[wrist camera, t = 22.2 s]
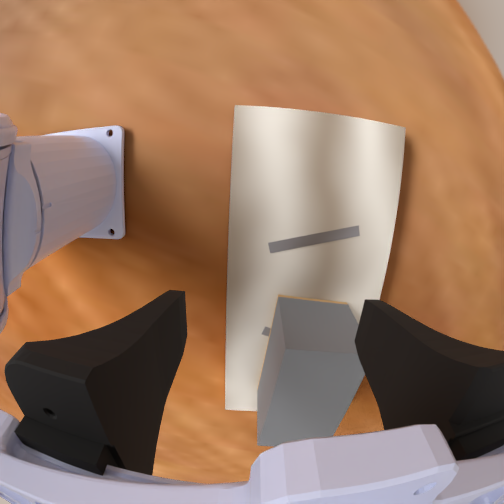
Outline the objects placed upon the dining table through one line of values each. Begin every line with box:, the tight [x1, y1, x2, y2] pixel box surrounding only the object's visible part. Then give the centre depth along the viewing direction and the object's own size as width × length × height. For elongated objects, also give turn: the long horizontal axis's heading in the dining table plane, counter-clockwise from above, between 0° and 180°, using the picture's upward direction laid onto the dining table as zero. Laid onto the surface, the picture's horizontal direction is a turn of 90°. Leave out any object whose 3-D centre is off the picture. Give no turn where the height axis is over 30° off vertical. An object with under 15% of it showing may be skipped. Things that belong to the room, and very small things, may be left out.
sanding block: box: [257, 295, 365, 446], centre depth 19 cm, size 5×9×6 cm, turn 171°
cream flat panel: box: [225, 105, 405, 411], centre depth 21 cm, size 11×24×1 cm, turn 177°
